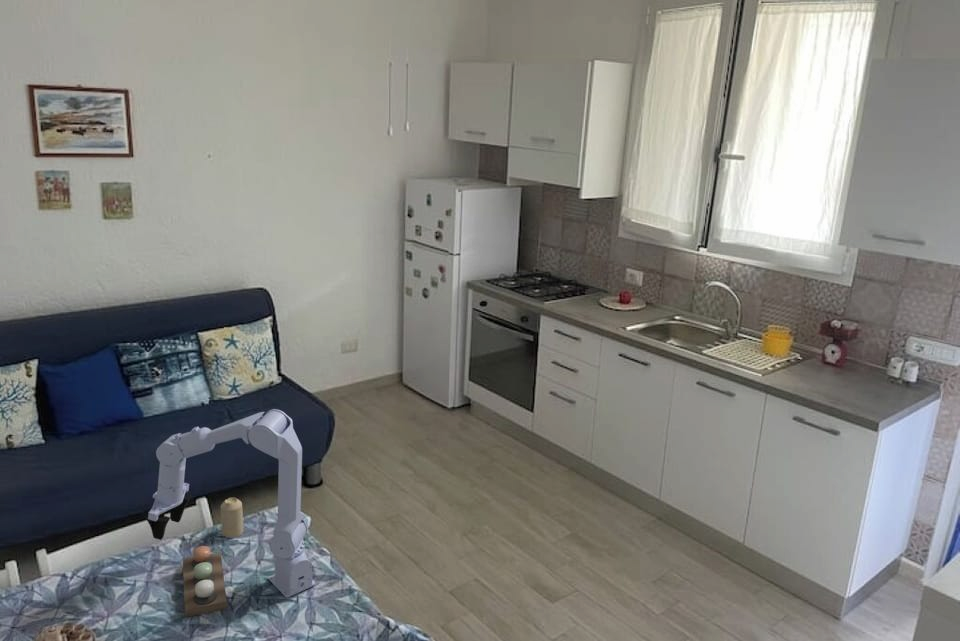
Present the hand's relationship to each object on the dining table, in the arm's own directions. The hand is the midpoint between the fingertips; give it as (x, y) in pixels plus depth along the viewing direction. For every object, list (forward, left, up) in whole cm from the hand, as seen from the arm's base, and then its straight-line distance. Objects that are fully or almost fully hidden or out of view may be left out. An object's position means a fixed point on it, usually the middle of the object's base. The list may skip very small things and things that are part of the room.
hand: (166, 529), depth 177 cm
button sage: (-13, -3, -7) cm, 15 cm away
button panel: (-13, -3, -11) cm, 17 cm away
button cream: (-20, -1, -7) cm, 21 cm away
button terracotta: (-6, -6, -7) cm, 11 cm away
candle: (+4, -18, -11) cm, 22 cm away
